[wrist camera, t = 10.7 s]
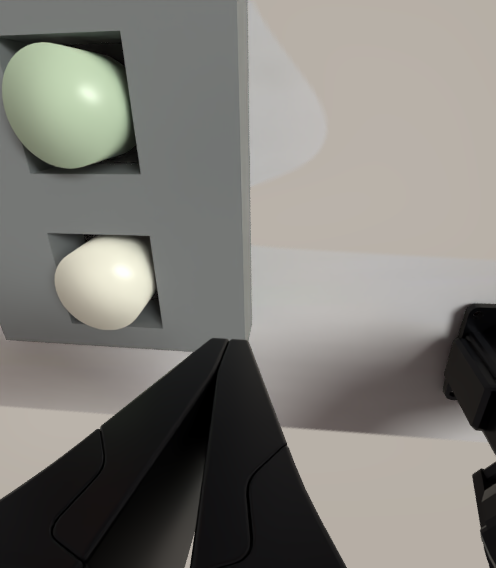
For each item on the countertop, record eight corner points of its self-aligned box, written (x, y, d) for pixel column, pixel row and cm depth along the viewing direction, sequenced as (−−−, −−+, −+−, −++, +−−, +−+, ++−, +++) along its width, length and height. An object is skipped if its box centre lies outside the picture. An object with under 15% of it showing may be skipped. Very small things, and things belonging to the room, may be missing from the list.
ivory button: (161, 226, 20) (134, 251, 17) (170, 298, 22) (148, 332, 19) (84, 224, 20) (44, 248, 17) (99, 294, 22) (66, 327, 19)
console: (242, -320, 12) (226, -445, 9) (251, 324, 22) (245, 355, 20) (-144, -261, 13) (-256, -351, 11) (38, 312, 24) (6, 339, 21)
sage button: (138, 51, 16) (99, 40, 13) (152, 156, 18) (120, 168, 15) (46, 54, 17) (-14, 44, 14) (68, 156, 19) (21, 168, 15)
